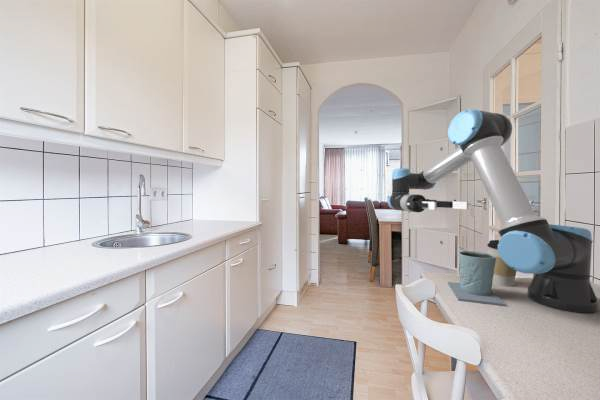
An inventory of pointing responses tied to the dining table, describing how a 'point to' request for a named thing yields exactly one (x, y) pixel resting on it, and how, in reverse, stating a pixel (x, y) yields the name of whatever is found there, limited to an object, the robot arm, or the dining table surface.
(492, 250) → the coffee cup
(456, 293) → the slate mat
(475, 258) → the embossed teal cup
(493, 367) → the dining table surface
